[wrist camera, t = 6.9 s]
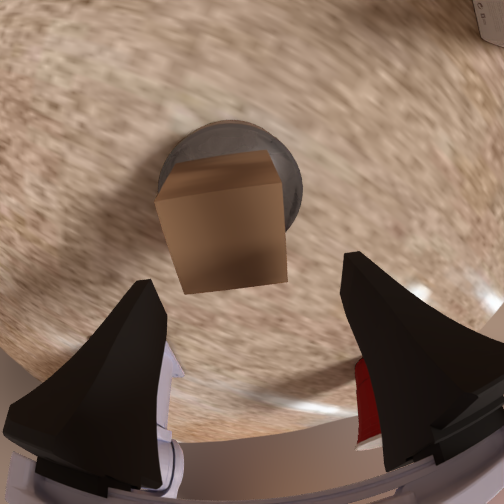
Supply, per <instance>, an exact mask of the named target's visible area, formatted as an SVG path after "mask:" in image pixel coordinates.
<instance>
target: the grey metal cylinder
mask: <svg viewBox="0 0 504 504" xmlns="http://www.w3.org/2000/svg"><path fill="white" fill-rule="evenodd" d="M258 150H267V151H268V153H269V155H270V157H271V159H272V162H273V164H274V166H275V168H276V170H277V173H278V175H279V177H280V179H281V182H282V191H283V205H284V221H285V232H286V231H287V230H288V229H289V228H290V226H291V225H292V223H293V222H294V220H295V218H296V216H297V214H298V212H299V209H300V206H301V201H302V193H303V185H302V178H301V174H300V170H299V168H298V165H297V163H296V161H295V159H294V158H293V156H292V154H291V153H290V151H289V150H288V149H287V148H286V147H285V145H284V144H283V143H282V142H280V141H279V140H278V139H277V138H276V137H274V136H273V135H271V134H270V133H269V132H267V131H266V130H265V129H263V128H261V127H259V126H257V125H255V124H252V123H249V122H245V121H240V120H222V121H217V122H213V123H210V124H207V125H205V126H203V127H201V128H199V129H197V130H196V131H194V132H193V133H191V134H190V135H188V136H187V137H186V138H184V139H183V140H182V141H181V142H180V143H179V144H178V145H177V146H176V147H175V148H174V149H173V151H172V152H171V153H170V154H169V156H168V158H167V159H166V161H165V163H164V165H163V167H162V170H161V173H160V177H159V182H158V193H159V192H160V190H161V188H162V186H163V184H164V183H165V181H166V179H167V177H168V176H169V174H170V172H171V170H172V169H173V167H174V165H175V164H176V163H180V162H185V161H191V160H196V159H202V158H208V157H214V156H221V155H228V154H235V153H242V152H250V151H258Z"/></svg>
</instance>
